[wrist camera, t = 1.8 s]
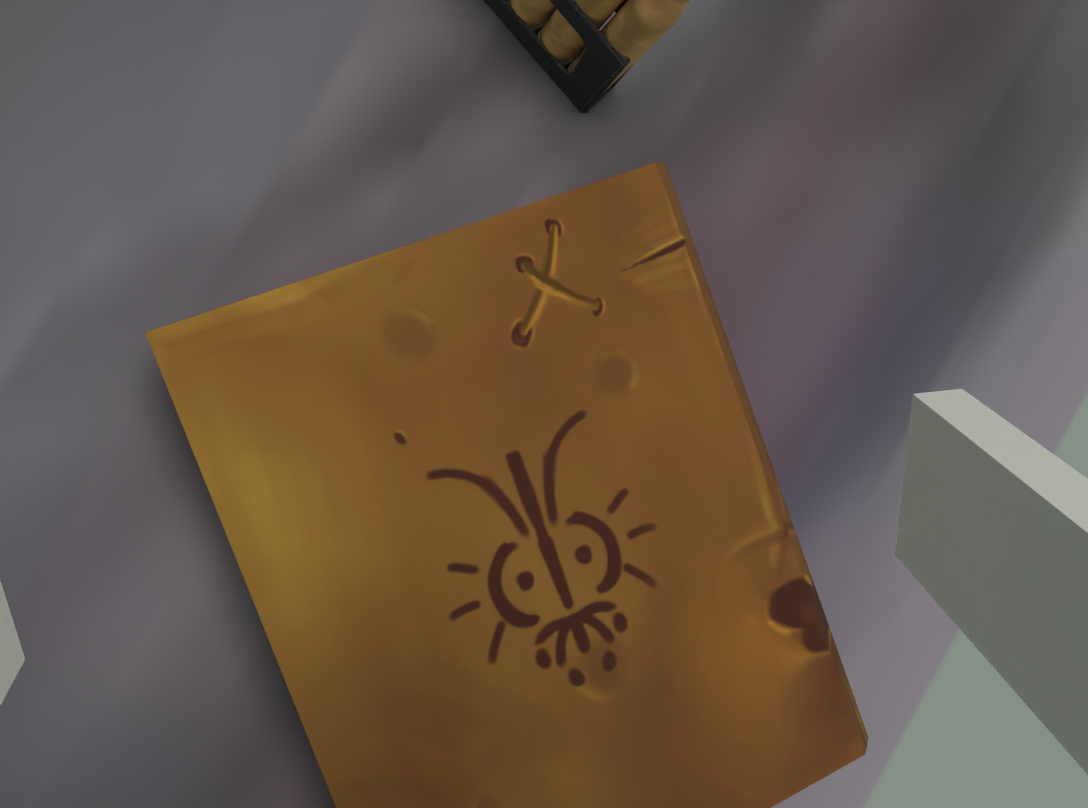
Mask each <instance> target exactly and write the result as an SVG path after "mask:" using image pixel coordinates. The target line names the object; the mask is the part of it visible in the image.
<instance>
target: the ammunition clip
mask: <svg viewBox="0 0 1088 808" xmlns="http://www.w3.org/2000/svg"><path fill="white" fill-rule="evenodd" d="M484 1H485V2H486V4H487V5H488V6H489V7H490V8H491V9H492V10H493V12H494V13H495V14H496V15H497V16H498V17H499V19H500V20H501V21H502V22H503V23H504V24H505V25H506V27H507V28H508V29H509V30H510V31H511V32H512V34H513V35H514V36H515V37H516V38H517V39H518V41H519V42H520V43H521V44H522V45H523V46H524V47H525V49H526V50H527V51H528V52H529V53H530V54H531V56H532V57H533V58H534V59H535V60H536V61H537V62H538V64H539V65H540V66H541V67H542V68H543V69H544V71H545V72H546V73H547V74H548V75H549V76H550V77H551V79H552V80H553V81H554V82H555V83H556V84H557V86H558V87H559V88H560V89H561V90H562V91H563V92H564V94H565V95H566V96H567V97H568V98H569V99H570V101H571V102H572V103H573V104H574V105H575V106H576V107H577V109H578V110H579V111H580V112H584V113H587V112H588V111H589V110H590V109H591V108H592V107H593V106H594V105H595V104H596V103H597V102H598V101H599V100H600V99H601V98H603V97H604V96H605V95H606V94H607V93H608V92H609V91H610V90H611V89H612V88H613V87H614V86H615V85H616V84H617V83H618V81H619V80H620V79H621V78H622V77H623V76H624V74H625V73H626V72H627V71H628V70H629V69H630V67H631V66H632V65H633V64H634V63H635V62H636V61H637V60H638V59H639V58H640V57H641V56H642V55H643V54H644V53H645V52H646V51H647V50H648V49H649V48H650V47H651V46H652V45H653V44H654V43H655V42H656V41H657V40H658V39H659V38H660V37H662V36H663V35H664V34H665V33H666V32H667V31H668V30H669V29H670V28H671V27H672V26H673V25H674V23H675V22H676V21H677V19H678V18H679V16H680V14H681V12H682V10H683V8H684V7H685V6H686V5H687V4H688V3H689V1H690V0H484ZM614 11H615V12H616V14H615V15H614V16H613V17H612V19H611V20H610V21H609V22H608V23H607V24H606V25H605V26H604V27H603V29H602V30H601V31H599V29H600V28H601V26H602V25H603V24H604V23H605V22H606V21H607V19H608V18H609V17H610V16H611V15H612V14H613V12H614Z"/></svg>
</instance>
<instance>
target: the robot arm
mask: <svg viewBox="0 0 1088 808" xmlns="http://www.w3.org/2000/svg"><path fill="white" fill-rule="evenodd" d="M895 555H896V556H897V557H898V558H899V560H900V561H901V562H902V563H903V564H904V565H905V566H906V568H907V569H908V570H909V571H910V572H911V573H912V574H913V576H914V577H915V578H916V579H917V580H918V581H919V582H920V584H921V585H922V586H923V587H924V588H925V589H926V590H927V592H928V593H929V594H930V595H931V596H932V597H933V598H934V600H935V601H936V602H937V603H938V604H939V605H940V606H941V608H942V609H943V610H944V611H945V612H946V613H947V614H948V616H949V617H950V618H951V619H952V620H953V621H954V622H955V624H956V625H957V626H958V627H959V628H960V629H961V630H962V632H963V633H964V634H965V635H966V636H967V637H968V638H969V640H970V641H971V642H972V643H973V644H974V645H975V646H976V647H977V649H978V650H979V651H980V652H981V653H982V654H983V655H984V657H985V658H986V659H987V660H988V661H989V662H990V663H991V665H992V666H993V667H994V668H995V669H996V670H997V672H998V673H999V674H1000V675H1001V676H1002V677H1003V678H1004V679H1005V681H1006V682H1007V683H1008V684H1009V685H1010V686H1011V688H1012V689H1013V690H1014V691H1015V692H1016V693H1017V694H1018V696H1019V697H1020V698H1021V699H1022V700H1023V701H1024V702H1025V704H1026V705H1027V706H1028V707H1029V708H1030V709H1031V710H1032V711H1033V712H1034V714H1035V715H1036V716H1037V717H1038V718H1039V719H1040V721H1041V722H1042V723H1043V724H1044V725H1045V726H1046V728H1047V729H1048V730H1049V731H1050V732H1051V733H1052V734H1053V735H1054V737H1055V738H1056V739H1057V740H1058V741H1059V742H1060V743H1061V745H1062V746H1063V747H1064V748H1065V749H1066V750H1067V751H1068V753H1069V754H1070V755H1071V756H1072V757H1073V758H1074V760H1075V761H1076V762H1077V763H1078V764H1079V765H1080V766H1081V768H1082V769H1083V770H1084V771H1085V772H1086V773H1087V774H1088V479H1087V478H1085V477H1084V476H1083V475H1081V474H1080V473H1079V472H1077V471H1076V470H1074V469H1073V468H1072V467H1070V466H1069V465H1067V464H1066V463H1065V462H1063V461H1062V460H1060V459H1059V458H1058V457H1056V456H1055V455H1054V454H1052V453H1051V452H1049V451H1048V450H1047V449H1045V448H1044V447H1042V446H1041V445H1040V444H1038V443H1037V442H1035V441H1034V440H1033V439H1031V438H1030V437H1028V436H1027V435H1026V434H1024V433H1023V432H1021V431H1020V430H1019V429H1017V428H1016V427H1015V426H1013V425H1012V424H1010V423H1009V422H1008V421H1006V420H1005V419H1003V418H1002V417H1001V416H999V415H998V414H996V413H995V412H994V411H992V410H991V409H989V408H988V407H987V406H985V405H984V404H982V403H981V402H980V401H978V400H977V399H976V398H974V397H973V396H971V395H970V394H969V393H967V392H966V391H964V390H963V389H956V390H947V391H937V392H927V393H917V394H913V398H912V407H911V416H910V425H909V434H908V443H907V452H906V461H905V471H904V480H903V489H902V498H901V507H900V516H899V525H898V534H897V543H896V552H895ZM24 661H25V658H24V654H23V651H22V648H21V645H20V642H19V639H18V635H17V632H16V629H15V626H14V623H13V619H12V616H11V613H10V610H9V607H8V603H7V600H6V597H5V594H4V591H3V588H2V584H1V581H0V705H1V703H2V702H3V700H4V698H5V696H6V694H7V692H8V690H9V689H10V687H11V685H12V683H13V681H14V679H15V677H16V676H17V674H18V672H19V670H20V668H21V666H22V664H23V663H24Z"/></svg>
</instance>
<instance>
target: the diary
mask: <svg viewBox="0 0 1088 808" xmlns="http://www.w3.org/2000/svg"><path fill="white" fill-rule="evenodd" d="M145 334H146V336H147V339H148V341H149V344H150V346H151V349H152V351H153V354H154V356H155V359H156V361H157V363H158V366H159V368H160V371H161V373H162V376H163V378H164V381H165V383H166V386H167V388H168V391H169V393H170V396H171V398H172V401H173V403H174V406H175V408H176V411H177V413H178V416H179V418H180V421H181V423H182V426H183V428H184V431H185V433H186V436H187V438H188V441H189V443H190V446H191V448H192V451H193V453H194V456H195V458H196V461H197V463H198V466H199V468H200V470H201V473H202V475H203V478H204V480H205V483H206V485H207V488H208V490H209V493H210V495H211V498H212V500H213V503H214V505H215V508H216V510H217V513H218V515H219V518H220V520H221V523H222V525H223V528H224V530H225V533H226V535H227V538H228V540H229V543H230V545H231V548H232V550H233V553H234V555H235V558H236V560H237V563H238V565H239V568H240V570H241V573H242V575H243V577H244V580H245V582H246V585H247V587H248V590H249V592H250V595H251V597H252V600H253V602H254V605H255V607H256V610H257V612H258V615H259V617H260V620H261V622H262V625H263V627H264V630H265V632H266V635H267V637H268V640H269V642H270V645H271V647H272V650H273V652H274V655H275V657H276V660H277V662H278V665H279V667H280V670H281V672H282V675H283V677H284V679H285V682H286V684H287V687H288V689H289V692H290V694H291V697H292V699H293V702H294V704H295V707H296V709H297V712H298V714H299V717H300V719H301V722H302V724H303V727H304V729H305V732H306V734H307V737H308V739H309V742H310V744H311V747H312V749H313V752H314V754H315V757H316V759H317V762H318V764H319V767H320V769H321V772H322V774H323V777H324V779H325V782H326V784H327V786H328V789H329V791H330V794H331V796H332V799H333V801H334V804H335V806H336V808H770V807H772V806H774V805H776V804H778V803H779V802H781V801H783V800H785V799H787V798H788V797H790V796H792V795H794V794H795V793H797V792H799V791H801V790H803V789H804V788H806V787H808V786H810V785H811V784H813V783H815V782H817V781H819V780H820V779H822V778H824V777H826V776H828V775H829V774H831V773H833V772H835V771H836V770H838V769H840V768H842V767H844V766H845V765H847V764H849V763H851V762H852V761H854V760H856V759H858V758H860V757H861V756H863V755H865V753H866V747H867V742H868V735H867V732H866V730H865V727H864V724H863V721H862V718H861V716H860V713H859V710H858V707H857V704H856V701H855V699H854V696H853V693H852V690H851V687H850V684H849V682H848V679H847V676H846V673H845V670H844V668H843V665H842V662H841V659H840V656H839V653H838V651H837V648H836V645H835V642H834V639H833V636H832V634H831V631H830V628H829V625H828V622H827V620H826V617H825V614H824V611H823V608H822V605H821V603H820V600H819V597H818V594H817V591H816V588H815V586H814V583H813V580H812V577H811V574H810V572H809V569H808V566H807V563H806V560H805V557H804V555H803V552H802V549H801V546H800V543H799V541H798V538H797V535H796V532H795V529H794V526H793V524H792V521H791V518H790V515H789V512H788V509H787V507H786V504H785V501H784V498H783V495H782V493H781V490H780V487H779V484H778V481H777V478H776V476H775V473H774V470H773V467H772V464H771V461H770V459H769V456H768V453H767V450H766V447H765V445H764V442H763V439H762V436H761V433H760V430H759V428H758V425H757V422H756V419H755V416H754V413H753V411H752V408H751V405H750V402H749V399H748V397H747V394H746V391H745V388H744V385H743V382H742V380H741V377H740V374H739V371H738V368H737V365H736V363H735V360H734V357H733V354H732V351H731V349H730V346H729V343H728V340H727V337H726V334H725V332H724V329H723V326H722V323H721V320H720V318H719V315H718V312H717V309H716V306H715V303H714V301H713V298H712V295H711V292H710V289H709V286H708V284H707V281H706V278H705V275H704V272H703V270H702V267H701V264H700V261H699V258H698V255H697V253H696V250H695V247H694V244H693V241H692V238H691V236H690V233H689V230H688V227H687V224H686V222H685V219H684V216H683V213H682V210H681V207H680V205H679V202H678V199H677V196H676V193H675V190H674V188H673V185H672V182H671V179H670V176H669V174H668V171H667V168H666V165H665V163H652V164H649V165H646V166H643V167H640V168H637V169H634V170H631V171H628V172H625V173H622V174H619V175H616V176H613V177H610V178H607V179H604V180H601V181H598V182H595V183H592V184H589V185H586V186H583V187H580V188H577V189H574V190H571V191H568V192H565V193H562V194H559V195H556V196H553V197H550V198H547V199H544V200H541V201H538V202H535V203H532V204H529V205H526V206H523V207H520V208H517V209H514V210H511V211H508V212H505V213H502V214H499V215H496V216H493V217H490V218H487V219H484V220H481V221H478V222H475V223H472V224H469V225H466V226H463V227H460V228H457V229H454V230H451V231H448V232H445V233H442V234H439V235H436V236H433V237H430V238H427V239H424V240H421V241H418V242H415V243H412V244H409V245H406V246H403V247H400V248H397V249H394V250H391V251H388V252H385V253H382V254H379V255H376V256H373V257H370V258H367V259H364V260H361V261H358V262H355V263H352V264H349V265H346V266H343V267H340V268H337V269H334V270H331V271H328V272H325V273H322V274H319V275H316V276H313V277H310V278H307V279H304V280H301V281H298V282H295V283H292V284H289V285H286V286H283V287H280V288H277V289H274V290H271V291H268V292H265V293H262V294H259V295H256V296H253V297H250V298H247V299H244V300H241V301H238V302H235V303H232V304H229V305H226V306H223V307H220V308H217V309H214V310H211V311H208V312H205V313H202V314H199V315H196V316H193V317H190V318H187V319H184V320H181V321H178V322H175V323H172V324H169V325H166V326H163V327H160V328H157V329H154V330H151V331H148V332H145Z"/></svg>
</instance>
